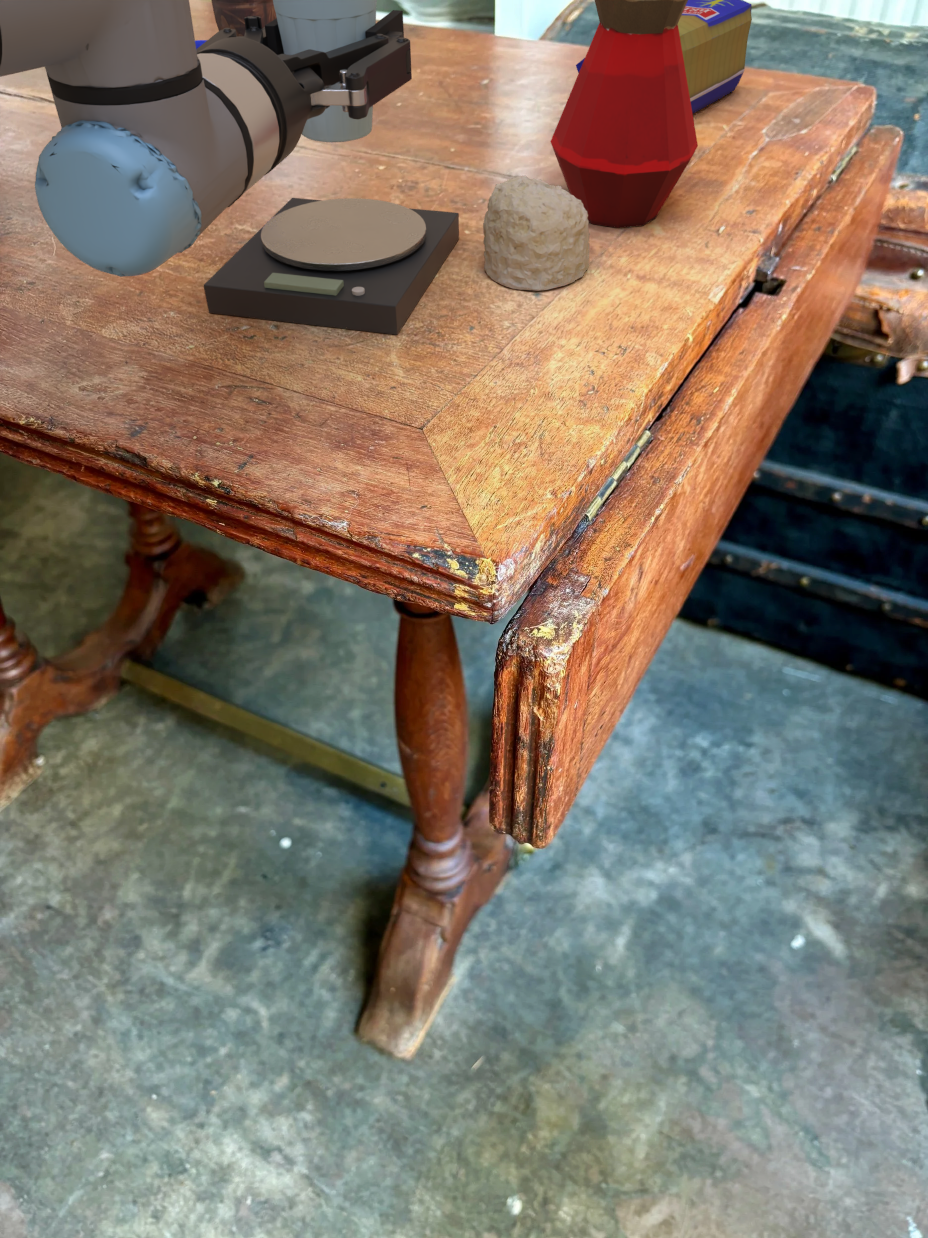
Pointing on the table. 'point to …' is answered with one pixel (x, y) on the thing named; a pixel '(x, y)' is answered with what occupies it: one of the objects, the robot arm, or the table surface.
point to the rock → (535, 235)
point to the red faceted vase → (628, 115)
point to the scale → (331, 283)
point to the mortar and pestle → (242, 13)
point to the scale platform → (343, 234)
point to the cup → (323, 21)
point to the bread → (712, 47)
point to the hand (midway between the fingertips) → (351, 27)
